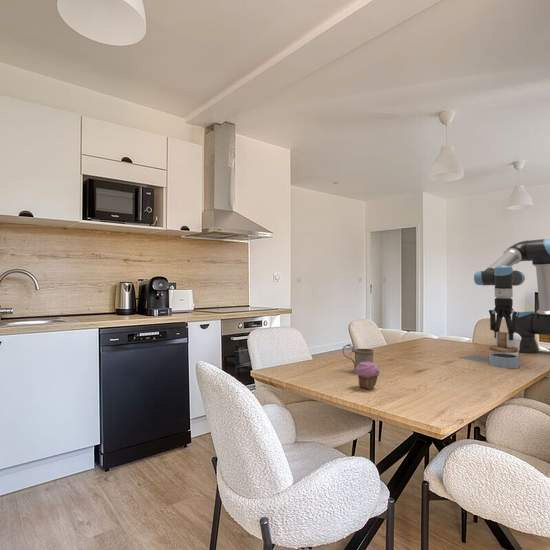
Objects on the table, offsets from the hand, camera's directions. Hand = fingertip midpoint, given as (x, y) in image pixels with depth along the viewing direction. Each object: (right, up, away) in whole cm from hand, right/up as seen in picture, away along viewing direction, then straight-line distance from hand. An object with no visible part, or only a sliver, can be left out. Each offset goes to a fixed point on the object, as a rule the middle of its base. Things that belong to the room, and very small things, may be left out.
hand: (503, 346), depth 187 cm
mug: (-73, -9, -12) cm, 74 cm away
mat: (-4, -10, +16) cm, 19 cm away
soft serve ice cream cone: (+14, -10, +16) cm, 24 cm away
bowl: (0, -10, 0) cm, 9 cm away
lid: (0, -2, 0) cm, 2 cm away
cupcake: (-75, -9, -40) cm, 85 cm away
